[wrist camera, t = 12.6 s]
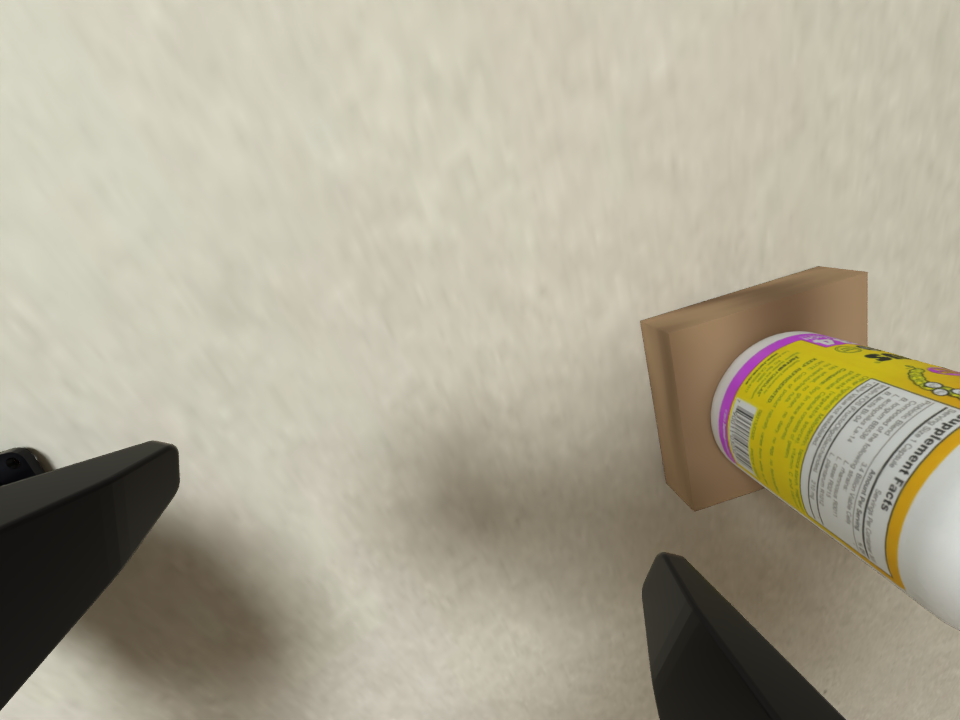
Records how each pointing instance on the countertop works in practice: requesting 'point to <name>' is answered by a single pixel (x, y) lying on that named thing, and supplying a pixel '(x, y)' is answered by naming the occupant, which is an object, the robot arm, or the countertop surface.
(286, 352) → the countertop surface
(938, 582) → the supplement bottle
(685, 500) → the walnut block
